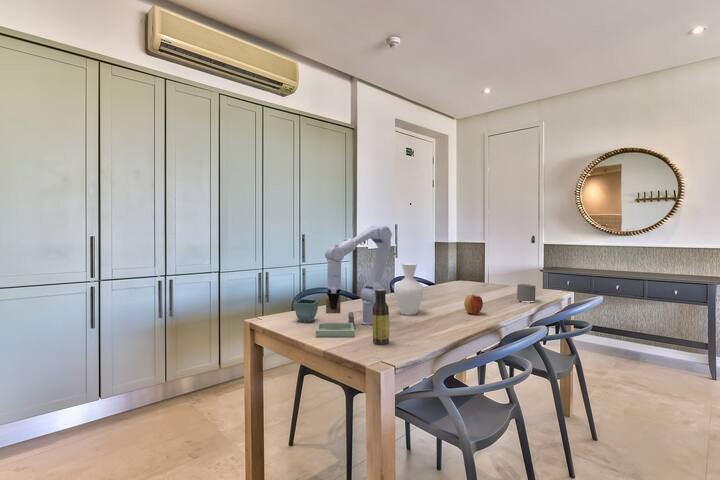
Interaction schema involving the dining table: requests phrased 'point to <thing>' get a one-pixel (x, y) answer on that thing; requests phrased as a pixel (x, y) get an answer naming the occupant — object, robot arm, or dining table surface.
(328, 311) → the brown block
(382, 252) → the robot arm
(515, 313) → the dining table surface
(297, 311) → the flower pot
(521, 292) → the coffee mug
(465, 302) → the apple
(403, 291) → the vase
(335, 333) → the tray
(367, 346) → the dining table surface
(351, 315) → the block
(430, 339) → the dining table surface
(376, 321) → the sauce bottle
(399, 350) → the dining table surface
